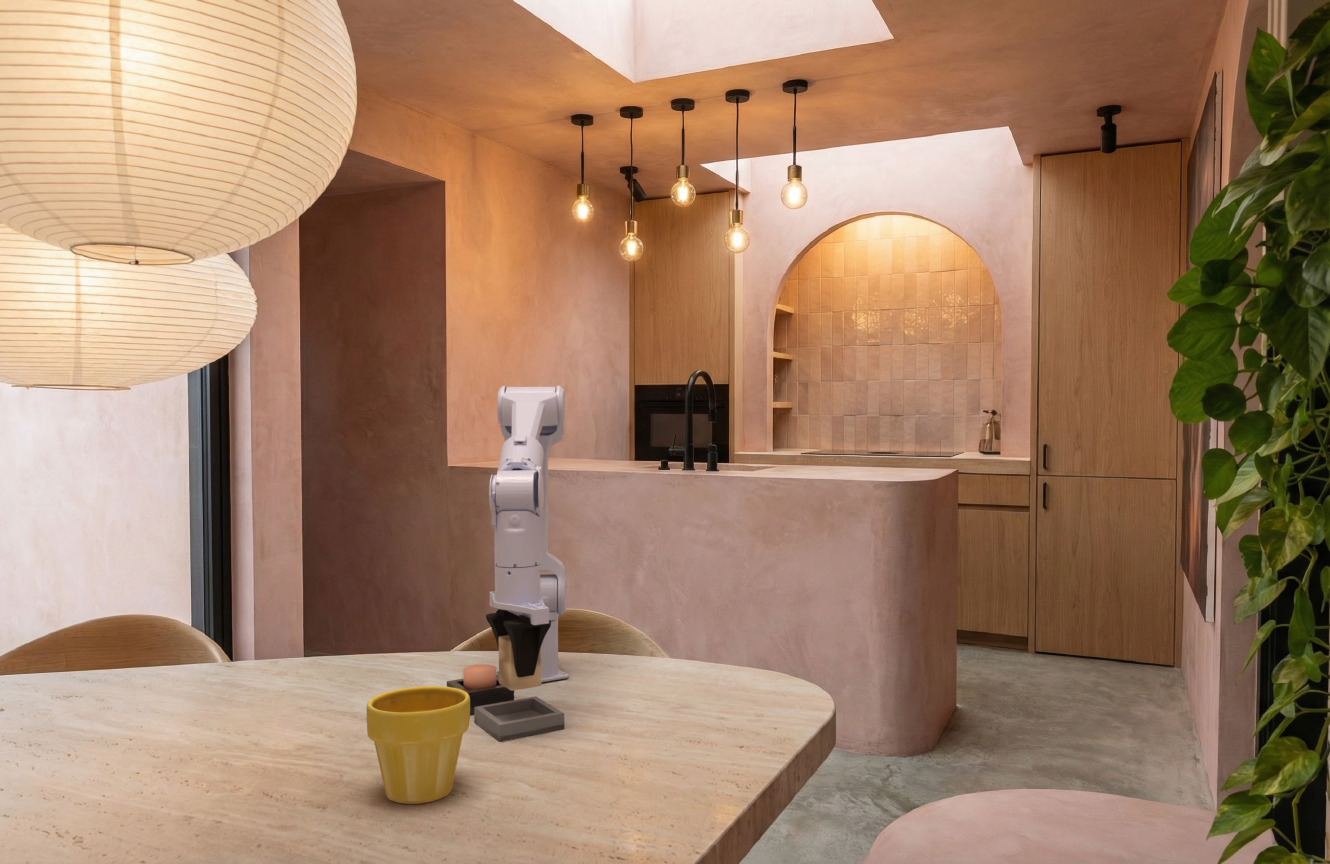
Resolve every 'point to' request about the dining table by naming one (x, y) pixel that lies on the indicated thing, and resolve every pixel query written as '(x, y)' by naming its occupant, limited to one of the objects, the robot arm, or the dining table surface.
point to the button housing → (484, 694)
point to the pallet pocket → (518, 718)
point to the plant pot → (418, 740)
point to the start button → (479, 676)
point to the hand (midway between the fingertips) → (518, 671)
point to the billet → (508, 668)
